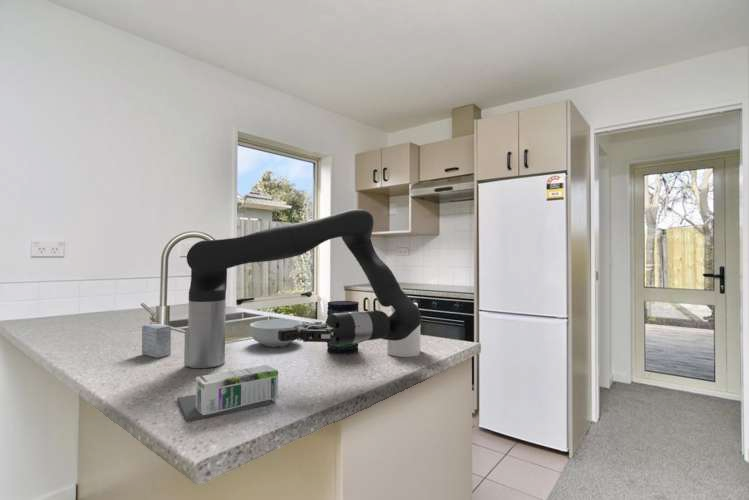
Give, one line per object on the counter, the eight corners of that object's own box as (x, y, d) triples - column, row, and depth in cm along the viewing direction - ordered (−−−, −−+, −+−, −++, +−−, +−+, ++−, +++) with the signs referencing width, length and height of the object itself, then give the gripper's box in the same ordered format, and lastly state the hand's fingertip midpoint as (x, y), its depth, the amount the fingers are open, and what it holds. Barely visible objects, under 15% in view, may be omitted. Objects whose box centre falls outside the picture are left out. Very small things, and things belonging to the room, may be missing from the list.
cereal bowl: (238, 347, 126) (238, 325, 126) (269, 337, 141) (269, 317, 141) (284, 352, 120) (284, 329, 120) (311, 341, 135) (311, 320, 135)
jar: (391, 347, 127) (391, 300, 127) (421, 348, 125) (421, 301, 125) (385, 356, 116) (386, 305, 116) (418, 357, 114) (418, 306, 114)
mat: (252, 387, 87) (252, 384, 87) (270, 404, 77) (270, 401, 77) (177, 400, 79) (177, 397, 79) (186, 421, 69) (186, 418, 69)
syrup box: (278, 399, 79) (202, 417, 70) (266, 390, 83) (193, 406, 74) (279, 370, 79) (203, 384, 70) (266, 363, 83) (194, 376, 74)
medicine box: (171, 355, 115) (171, 325, 115) (155, 358, 111) (156, 328, 111) (156, 351, 119) (156, 323, 119) (141, 354, 115) (141, 325, 116)
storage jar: (345, 356, 115) (346, 305, 115) (320, 351, 120) (320, 302, 121) (364, 349, 123) (365, 302, 124) (340, 345, 129) (340, 300, 129)
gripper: (336, 309, 100) (269, 314, 90) (363, 315, 89) (290, 322, 79) (336, 338, 100) (268, 347, 90) (363, 349, 89) (290, 360, 79)
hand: (279, 336), depth 85 cm, fingers closed
